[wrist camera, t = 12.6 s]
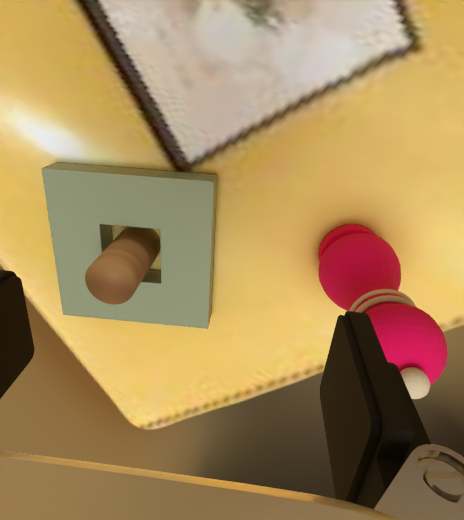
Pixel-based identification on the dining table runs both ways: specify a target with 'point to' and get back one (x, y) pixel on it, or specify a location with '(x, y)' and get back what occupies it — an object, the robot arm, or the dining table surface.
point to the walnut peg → (123, 265)
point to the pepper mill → (382, 303)
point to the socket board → (135, 215)
